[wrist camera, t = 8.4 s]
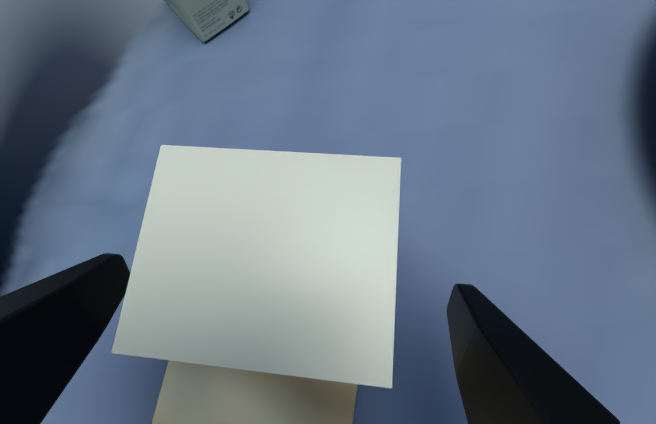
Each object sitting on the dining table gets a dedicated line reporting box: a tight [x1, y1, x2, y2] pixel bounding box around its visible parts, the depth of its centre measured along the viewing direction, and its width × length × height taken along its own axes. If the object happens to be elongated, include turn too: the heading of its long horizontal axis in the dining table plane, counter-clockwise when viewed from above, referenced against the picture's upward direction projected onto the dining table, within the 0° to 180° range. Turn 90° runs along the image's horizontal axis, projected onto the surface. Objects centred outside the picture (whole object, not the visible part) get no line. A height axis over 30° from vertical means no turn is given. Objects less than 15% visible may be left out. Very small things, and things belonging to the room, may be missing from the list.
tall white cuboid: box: [111, 145, 401, 388], centre depth 11 cm, size 4×6×10 cm
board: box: [152, 360, 358, 424], centre depth 16 cm, size 14×10×1 cm
